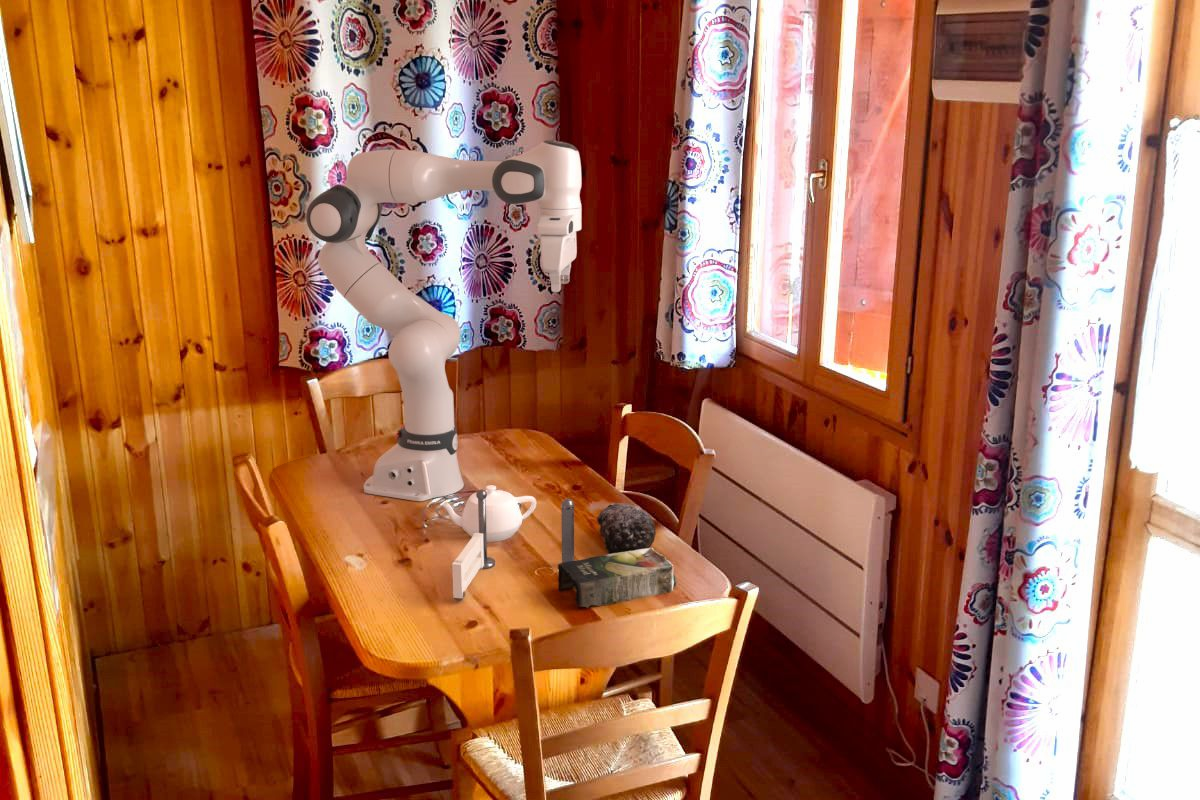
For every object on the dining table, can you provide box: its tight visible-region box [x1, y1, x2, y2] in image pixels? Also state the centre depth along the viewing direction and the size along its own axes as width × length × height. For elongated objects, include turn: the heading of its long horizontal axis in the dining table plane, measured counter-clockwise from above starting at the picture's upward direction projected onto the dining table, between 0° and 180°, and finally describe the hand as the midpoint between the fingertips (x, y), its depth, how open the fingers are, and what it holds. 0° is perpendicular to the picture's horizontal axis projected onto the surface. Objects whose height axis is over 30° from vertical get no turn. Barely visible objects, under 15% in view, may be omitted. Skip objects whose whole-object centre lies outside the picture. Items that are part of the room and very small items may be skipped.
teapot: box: [439, 484, 537, 543], centre depth 222 cm, size 20×12×10 cm, turn 109°
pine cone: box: [596, 502, 657, 554], centre depth 215 cm, size 10×18×10 cm, turn 22°
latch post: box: [560, 498, 575, 563], centre depth 207 cm, size 2×2×14 cm
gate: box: [451, 533, 484, 602], centre depth 199 cm, size 14×2×7 cm, turn 170°
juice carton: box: [557, 547, 677, 610], centre depth 198 cm, size 20×10×6 cm, turn 115°
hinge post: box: [475, 488, 496, 570], centre depth 207 cm, size 4×4×15 cm
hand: (560, 287), depth 229 cm, fingers open, 8 cm apart
